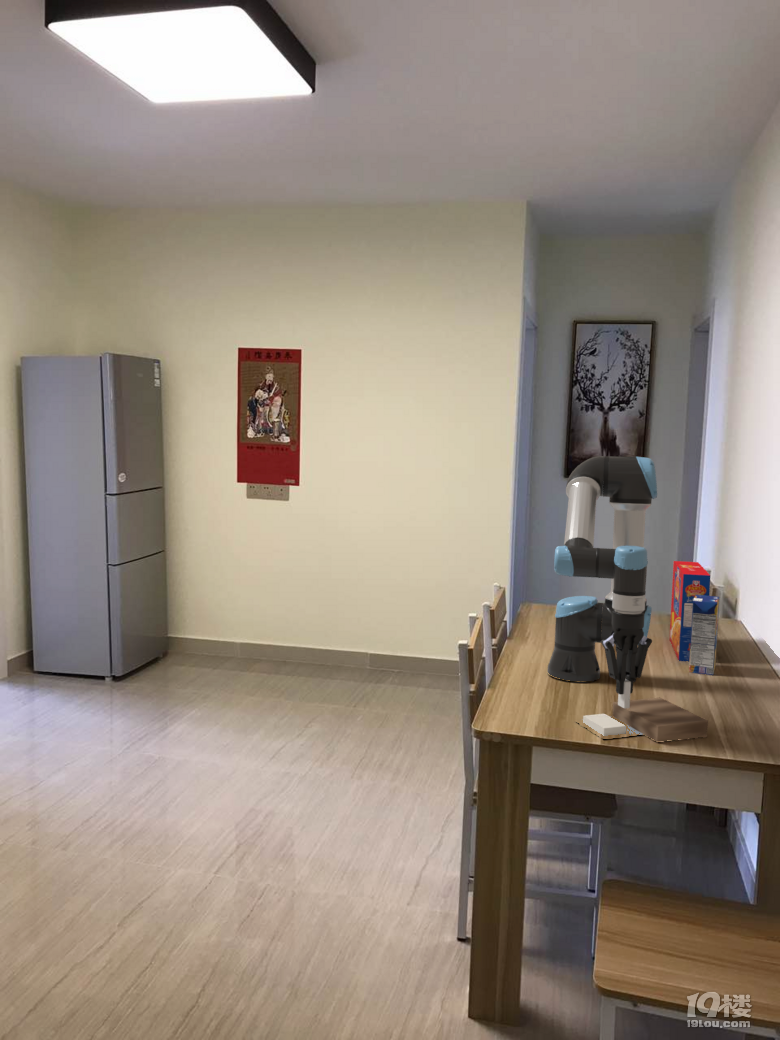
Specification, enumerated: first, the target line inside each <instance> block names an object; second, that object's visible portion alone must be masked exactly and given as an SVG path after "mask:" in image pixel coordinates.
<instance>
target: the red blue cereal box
mask: <svg viewBox="0 0 780 1040" xmlns="http://www.w3.org/2000/svg"><path fill="white" fill-rule="evenodd" d="M672 565H673V566H672V567H673V568H672V583H671V584H672V586H671V600H670V601H671V603H670V604H671V607H670V621H669V622H670V625H669V638H668V639H669V642H671V643H670V645H671V644H672V645H671V647H672V649H673V651H675V652H674V654H675V656H676V657H677V660H679V661H678V662H686V661H688V663H689V662H690V644H691V627H692V609H693V600H694V598H695V595H705V596H710V589H711V574H709V572H708V571H707V570H706V569H705V568H704V566H702V565H701V563H699V562H697V561H682V560H681V561H679V560H673V564H672Z"/></svg>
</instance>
